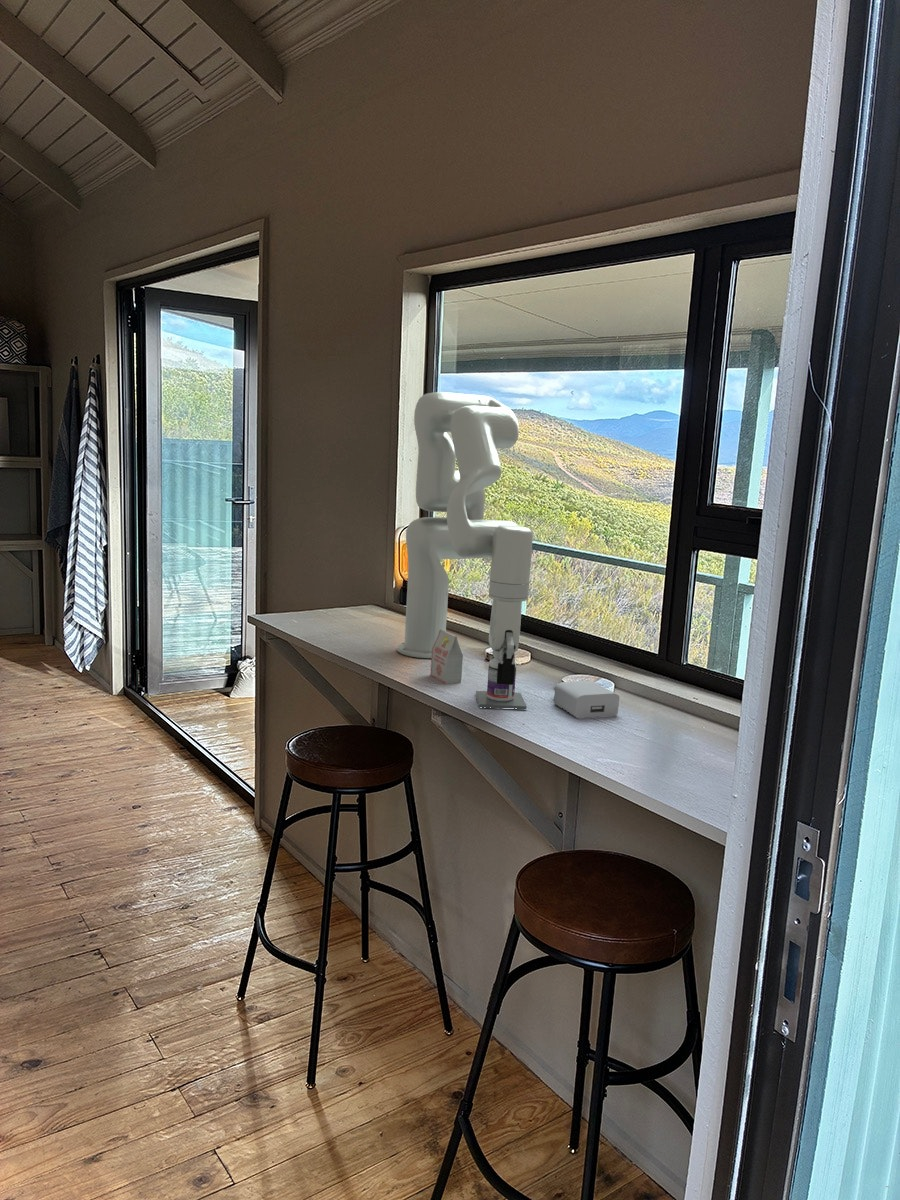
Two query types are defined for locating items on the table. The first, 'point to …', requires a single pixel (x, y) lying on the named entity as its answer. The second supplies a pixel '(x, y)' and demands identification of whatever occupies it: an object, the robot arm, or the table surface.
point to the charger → (586, 699)
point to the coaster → (486, 702)
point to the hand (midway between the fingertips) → (502, 677)
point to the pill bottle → (493, 689)
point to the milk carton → (446, 659)
